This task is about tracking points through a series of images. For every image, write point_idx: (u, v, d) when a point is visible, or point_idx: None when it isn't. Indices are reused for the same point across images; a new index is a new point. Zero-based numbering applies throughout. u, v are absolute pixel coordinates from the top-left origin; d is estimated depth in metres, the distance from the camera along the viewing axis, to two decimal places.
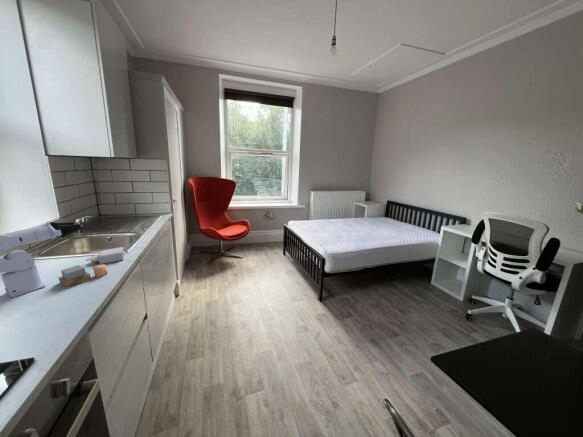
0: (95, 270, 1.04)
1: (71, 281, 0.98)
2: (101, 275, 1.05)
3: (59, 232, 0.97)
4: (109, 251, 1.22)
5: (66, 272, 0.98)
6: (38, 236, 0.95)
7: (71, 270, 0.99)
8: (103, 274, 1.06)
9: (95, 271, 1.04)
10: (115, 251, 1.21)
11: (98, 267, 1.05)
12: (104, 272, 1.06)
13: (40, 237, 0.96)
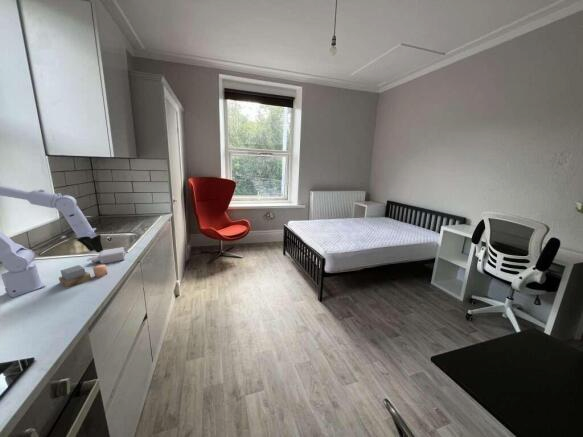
0: (95, 270, 1.04)
1: (71, 281, 0.98)
2: (101, 275, 1.05)
3: (93, 236, 0.99)
4: (110, 251, 1.22)
5: (66, 272, 0.98)
6: (80, 225, 0.99)
7: (71, 270, 0.99)
8: (103, 274, 1.06)
9: (95, 271, 1.04)
10: (116, 251, 1.22)
11: (98, 267, 1.05)
12: (104, 272, 1.06)
13: (79, 226, 0.99)
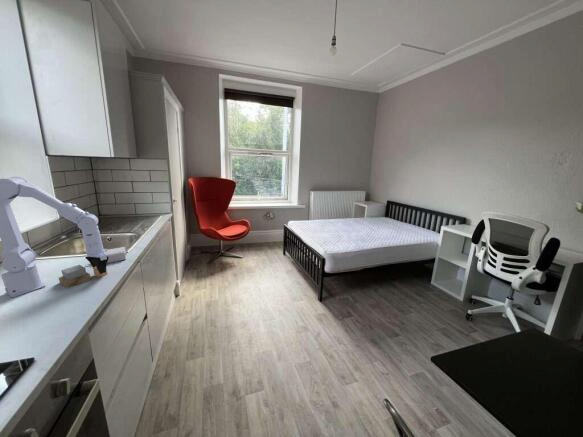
0: (95, 270, 1.04)
1: (71, 281, 0.98)
2: (101, 275, 1.05)
3: (104, 258, 1.01)
4: (111, 251, 1.22)
5: (67, 272, 0.98)
6: (95, 245, 1.01)
7: (72, 270, 0.99)
8: (103, 274, 1.06)
9: (95, 271, 1.04)
10: (117, 251, 1.22)
11: None
12: None
13: (93, 246, 1.01)
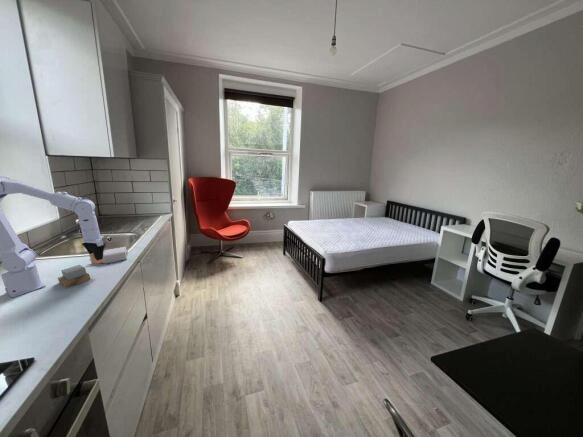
0: (92, 256, 1.02)
1: (70, 281, 0.97)
2: (98, 262, 1.04)
3: (101, 244, 0.99)
4: (112, 251, 1.22)
5: (66, 272, 0.98)
6: (91, 230, 1.00)
7: (72, 270, 0.99)
8: (100, 260, 1.04)
9: (92, 257, 1.03)
10: (118, 251, 1.22)
11: None
12: (101, 259, 1.04)
13: (90, 232, 0.99)
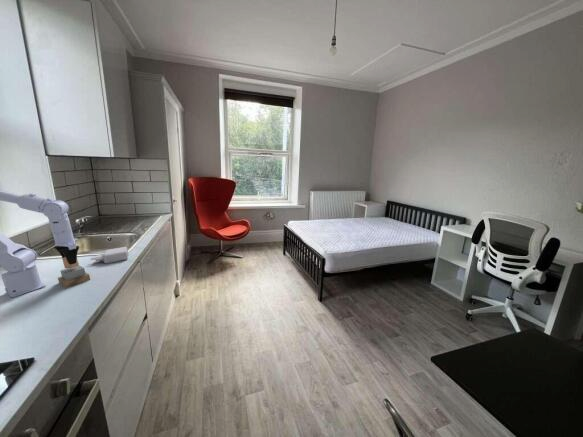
0: (64, 260, 0.97)
1: (70, 281, 0.97)
2: (71, 266, 0.98)
3: (73, 247, 0.94)
4: (113, 250, 1.22)
5: (66, 272, 0.98)
6: (63, 233, 0.95)
7: (71, 270, 0.99)
8: (74, 264, 0.99)
9: (64, 261, 0.97)
10: (119, 250, 1.22)
11: None
12: None
13: (61, 235, 0.94)
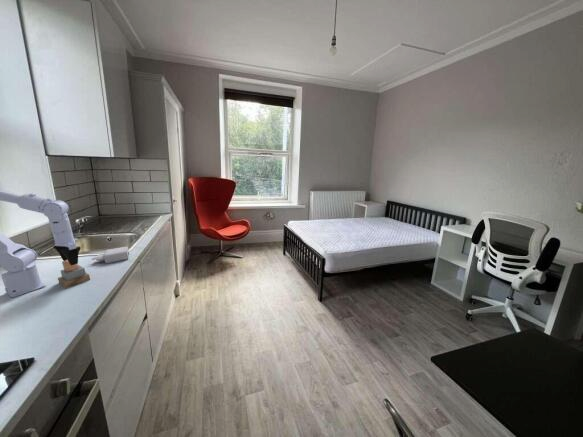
0: (64, 264, 0.97)
1: (70, 281, 0.97)
2: (71, 269, 0.99)
3: (73, 247, 0.94)
4: (114, 250, 1.22)
5: (66, 272, 0.98)
6: (63, 233, 0.95)
7: None
8: (74, 268, 0.99)
9: (64, 265, 0.98)
10: (120, 250, 1.22)
11: (68, 261, 0.99)
12: (74, 266, 0.99)
13: (61, 235, 0.94)
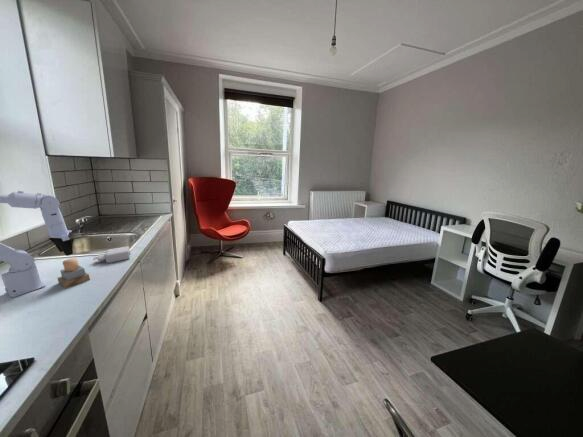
0: (65, 264, 0.97)
1: (70, 281, 0.97)
2: (71, 269, 0.99)
3: (66, 239, 0.99)
4: (115, 250, 1.23)
5: (65, 272, 0.98)
6: (56, 225, 0.99)
7: None
8: (74, 268, 0.99)
9: (65, 265, 0.98)
10: (121, 250, 1.23)
11: (68, 261, 0.99)
12: (75, 266, 0.99)
13: (54, 227, 0.99)
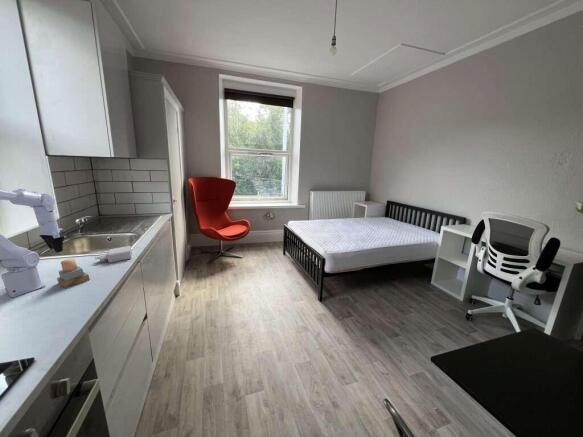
0: (63, 264, 0.97)
1: (69, 282, 0.97)
2: (69, 270, 0.98)
3: (57, 236, 1.03)
4: (117, 250, 1.23)
5: (64, 273, 0.97)
6: (48, 223, 1.03)
7: None
8: (72, 268, 0.99)
9: (63, 265, 0.97)
10: (123, 250, 1.23)
11: (66, 261, 0.98)
12: (73, 267, 0.99)
13: (46, 224, 1.03)
